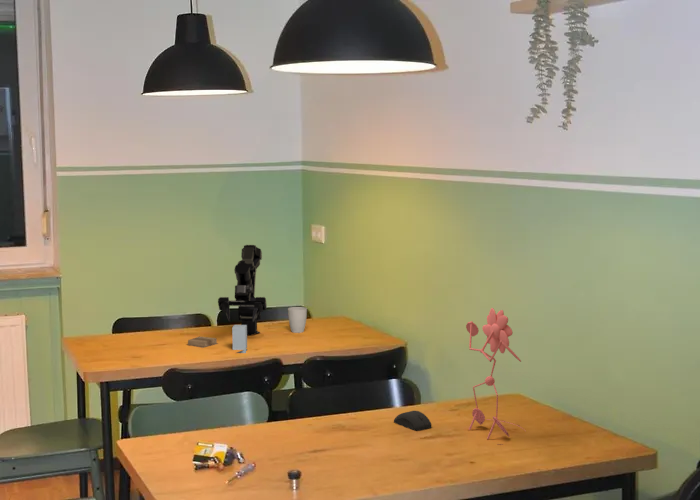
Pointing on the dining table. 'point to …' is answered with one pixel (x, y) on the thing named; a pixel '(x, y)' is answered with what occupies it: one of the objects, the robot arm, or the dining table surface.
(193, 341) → the upper slab
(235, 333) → the grey upright block
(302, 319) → the cup
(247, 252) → the robot arm
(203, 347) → the lower slab
